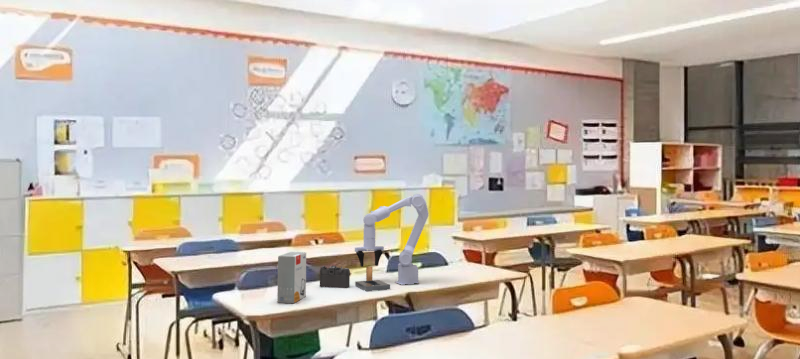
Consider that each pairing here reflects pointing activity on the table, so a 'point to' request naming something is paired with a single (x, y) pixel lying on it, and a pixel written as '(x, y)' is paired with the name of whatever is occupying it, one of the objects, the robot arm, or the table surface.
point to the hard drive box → (291, 277)
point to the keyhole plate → (369, 285)
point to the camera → (334, 277)
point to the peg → (368, 273)
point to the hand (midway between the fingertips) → (369, 265)
